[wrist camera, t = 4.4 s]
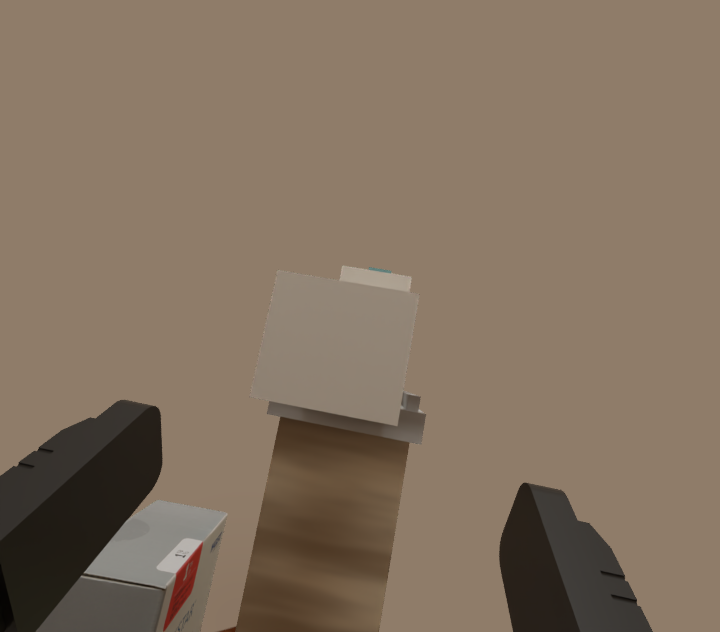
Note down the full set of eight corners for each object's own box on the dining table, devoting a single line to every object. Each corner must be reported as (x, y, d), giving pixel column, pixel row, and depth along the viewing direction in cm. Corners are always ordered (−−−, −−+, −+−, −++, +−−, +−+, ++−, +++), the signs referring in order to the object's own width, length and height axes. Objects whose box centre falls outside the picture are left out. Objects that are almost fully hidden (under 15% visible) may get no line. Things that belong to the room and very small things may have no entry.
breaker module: (397, 426, 12) (444, 144, 13) (249, 397, 12) (309, 126, 14) (388, 398, 33) (407, 290, 34) (333, 388, 33) (354, 281, 34)
